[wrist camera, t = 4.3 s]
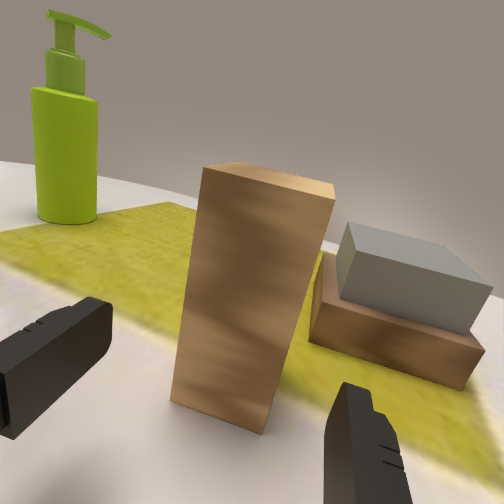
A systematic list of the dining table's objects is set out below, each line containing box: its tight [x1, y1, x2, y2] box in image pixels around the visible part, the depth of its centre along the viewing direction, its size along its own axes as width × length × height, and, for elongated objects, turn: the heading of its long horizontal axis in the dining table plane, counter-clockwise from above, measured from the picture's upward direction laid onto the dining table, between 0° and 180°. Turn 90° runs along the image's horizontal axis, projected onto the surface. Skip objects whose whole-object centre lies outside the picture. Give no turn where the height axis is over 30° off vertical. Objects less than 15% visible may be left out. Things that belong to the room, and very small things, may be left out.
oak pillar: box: [170, 162, 336, 435], centre depth 15 cm, size 5×5×12 cm
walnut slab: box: [308, 253, 485, 391], centre depth 26 cm, size 11×11×4 cm
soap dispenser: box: [31, 10, 111, 225], centre depth 32 cm, size 6×7×20 cm
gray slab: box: [336, 222, 493, 336], centre depth 25 cm, size 9×9×4 cm
